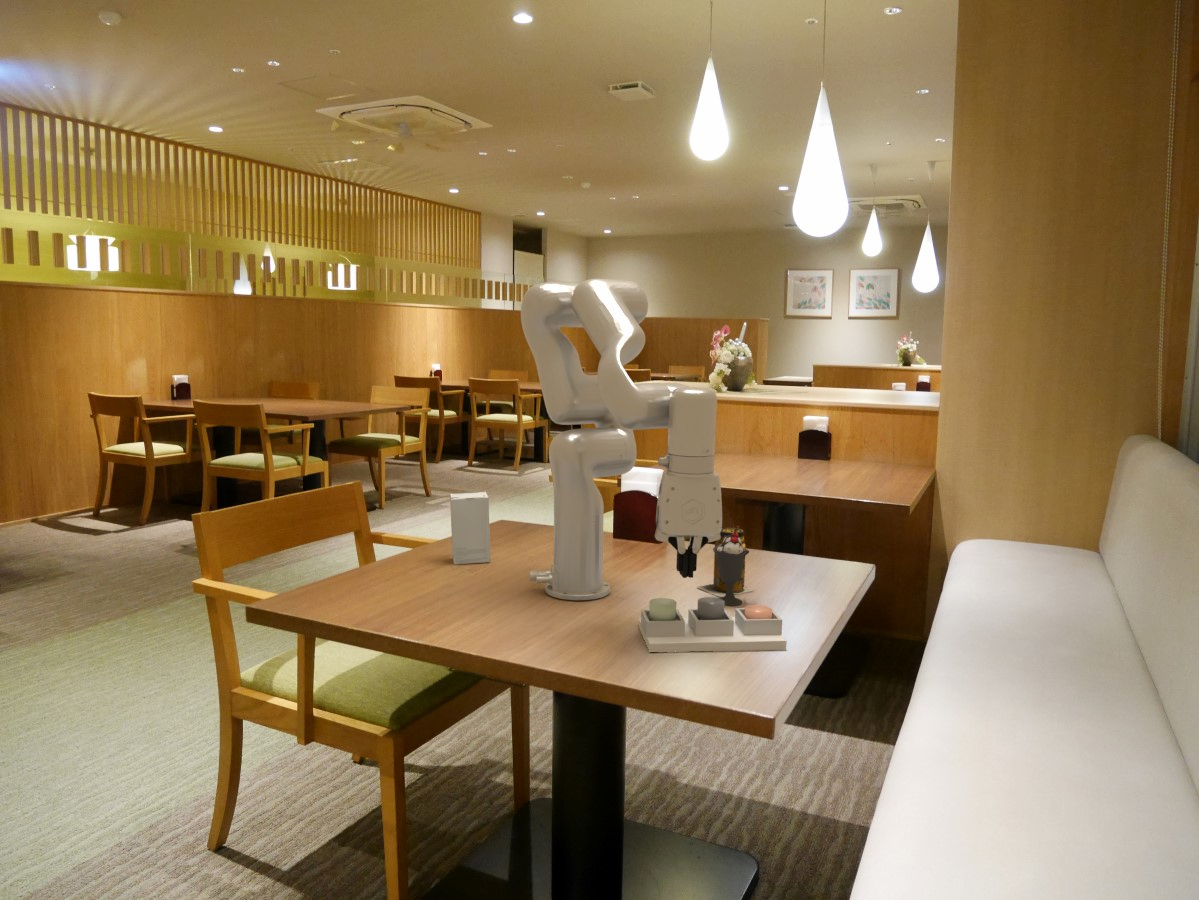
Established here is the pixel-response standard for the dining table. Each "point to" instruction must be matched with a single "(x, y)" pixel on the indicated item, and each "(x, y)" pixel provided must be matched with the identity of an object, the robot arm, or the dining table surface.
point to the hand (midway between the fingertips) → (686, 575)
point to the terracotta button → (758, 612)
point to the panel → (712, 633)
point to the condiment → (720, 586)
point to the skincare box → (470, 527)
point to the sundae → (731, 565)
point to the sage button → (662, 609)
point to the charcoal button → (710, 608)
